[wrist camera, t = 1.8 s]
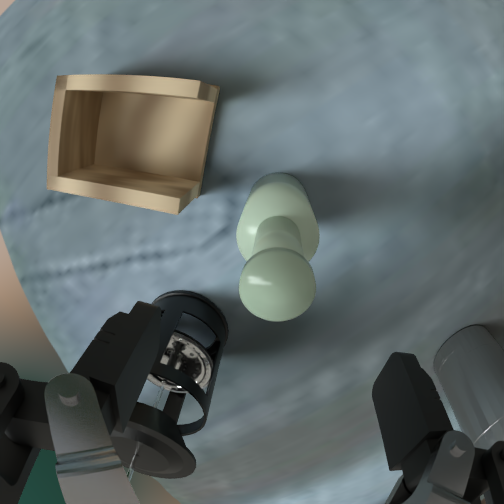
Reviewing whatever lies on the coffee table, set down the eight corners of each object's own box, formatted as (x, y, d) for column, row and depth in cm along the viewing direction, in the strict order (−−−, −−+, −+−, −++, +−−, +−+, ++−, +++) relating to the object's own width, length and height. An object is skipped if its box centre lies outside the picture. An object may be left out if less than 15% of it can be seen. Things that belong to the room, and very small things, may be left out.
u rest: (220, 87, 24) (201, 76, 18) (199, 195, 28) (177, 218, 22) (100, 77, 24) (57, 72, 18) (88, 175, 28) (46, 192, 22)
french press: (233, 293, 32) (180, 518, 11) (235, 361, 36) (201, 549, 15) (128, 285, 33) (9, 455, 12) (142, 350, 37) (67, 509, 16)
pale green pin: (313, 180, 27) (352, 249, 13) (299, 234, 29) (315, 344, 15) (255, 166, 27) (229, 221, 13) (243, 221, 29) (211, 323, 15)
